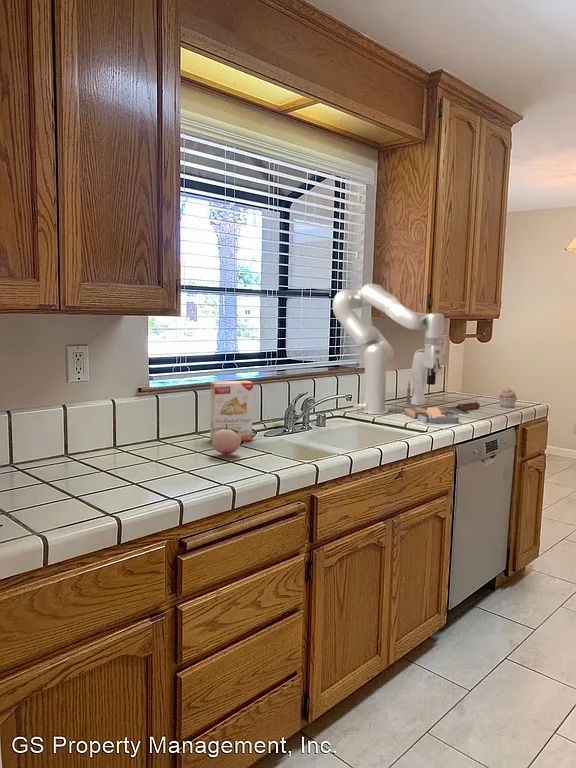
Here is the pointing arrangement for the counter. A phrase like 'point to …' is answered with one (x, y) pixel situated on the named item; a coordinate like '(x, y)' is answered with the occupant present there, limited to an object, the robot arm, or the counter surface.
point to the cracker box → (232, 407)
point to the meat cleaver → (463, 408)
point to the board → (423, 412)
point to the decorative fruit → (226, 440)
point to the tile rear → (433, 411)
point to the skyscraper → (417, 380)
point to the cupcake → (507, 398)
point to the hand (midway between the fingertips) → (430, 384)
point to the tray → (437, 419)
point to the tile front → (438, 416)
